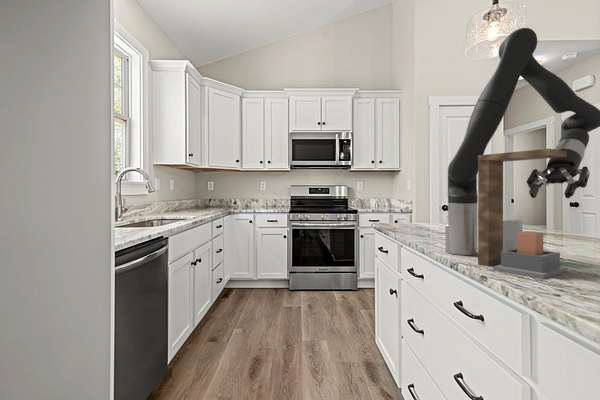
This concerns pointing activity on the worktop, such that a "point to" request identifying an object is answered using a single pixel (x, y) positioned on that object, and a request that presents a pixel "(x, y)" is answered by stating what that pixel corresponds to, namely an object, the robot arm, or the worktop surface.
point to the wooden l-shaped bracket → (497, 199)
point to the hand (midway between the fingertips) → (549, 196)
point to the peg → (530, 243)
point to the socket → (530, 264)
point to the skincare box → (511, 233)
